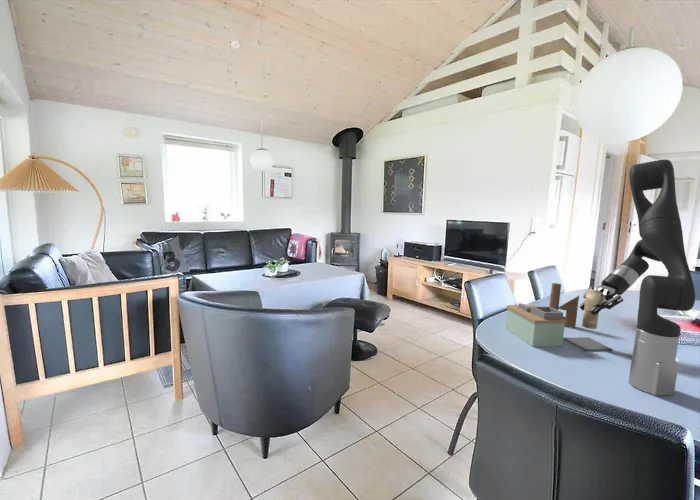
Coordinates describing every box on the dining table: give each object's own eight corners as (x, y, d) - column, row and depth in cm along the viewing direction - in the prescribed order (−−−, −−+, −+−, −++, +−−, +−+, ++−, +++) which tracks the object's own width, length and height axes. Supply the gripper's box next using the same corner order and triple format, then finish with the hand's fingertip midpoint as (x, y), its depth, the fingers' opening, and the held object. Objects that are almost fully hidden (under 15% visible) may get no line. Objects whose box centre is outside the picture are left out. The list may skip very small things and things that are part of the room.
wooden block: (573, 328, 147) (578, 288, 145) (546, 322, 155) (550, 283, 152) (575, 326, 150) (580, 286, 147) (548, 320, 157) (552, 282, 155)
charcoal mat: (612, 350, 125) (612, 349, 125) (584, 351, 124) (585, 349, 124) (588, 338, 136) (588, 337, 136) (563, 339, 135) (563, 337, 135)
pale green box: (564, 346, 128) (568, 313, 126) (532, 346, 126) (535, 314, 125) (533, 328, 146) (536, 299, 144) (504, 328, 145) (507, 299, 143)
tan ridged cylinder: (599, 328, 127) (604, 292, 125) (588, 329, 127) (593, 292, 125) (589, 324, 132) (594, 289, 130) (578, 324, 131) (583, 289, 129)
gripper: (598, 269, 134) (567, 298, 134) (632, 277, 120) (596, 310, 120) (609, 282, 135) (577, 311, 136) (643, 291, 121) (608, 324, 122)
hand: (586, 310), depth 128 cm, fingers closed on tan ridged cylinder, 4 cm apart
